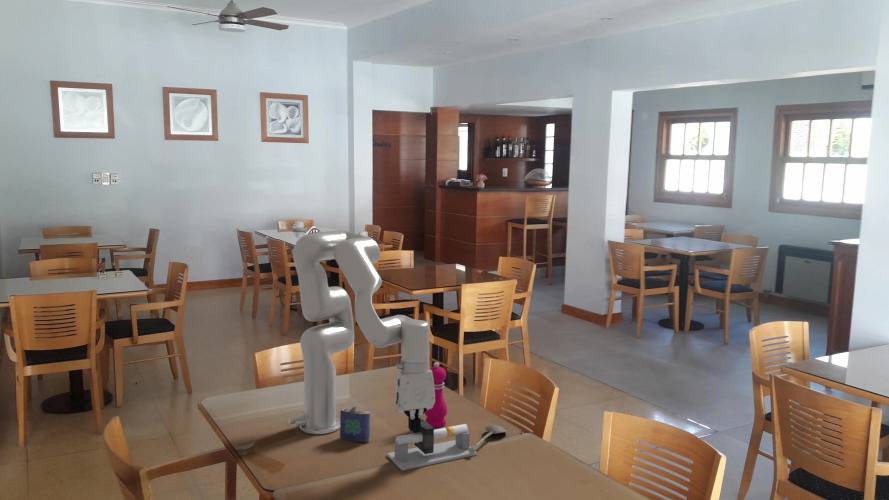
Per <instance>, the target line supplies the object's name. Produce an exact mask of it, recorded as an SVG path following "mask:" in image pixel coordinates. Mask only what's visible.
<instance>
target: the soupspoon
mask: <svg viewBox="0 0 889 500" xmlns="http://www.w3.org/2000/svg"><path fill="white" fill-rule="evenodd" d="M484 430H486V431H487V432H488V433H487V434H485V435H484V436H483V437H481V439H480V440H479V441H478V442H477V443H476V444H473V446H471V448H469V449H468V451H469V452H470V453H474V450H475V451H476V449H477V447H478V446H479V445H480V444H481V443H483V442H484V441H485V440H486V439H487V438H488V437H490V436H492V435H494V434H500V433H501V434H503V433H507V432H508V430H507V429H506V428H505V427H503V426H500V425H497V424H490V425H487V426H485V429H484Z"/></svg>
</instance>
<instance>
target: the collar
mask: <svg viewBox="0 0 889 500" xmlns="http://www.w3.org/2000/svg"><path fill="white" fill-rule="evenodd" d="M434 430H435V428H433V427H432V426H431V425H429V424H428V423H427V422H426V420H425V419H422V418H421V427H420V432H421V433H423V442H418V443H413V444H414V446H415V448H417V447H418V448H419V449H420V450H421V451H422V452H423V453H424V454H429V453H434V444H435V442H434V441H435V439H434ZM416 433H417V432H416Z"/></svg>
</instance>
